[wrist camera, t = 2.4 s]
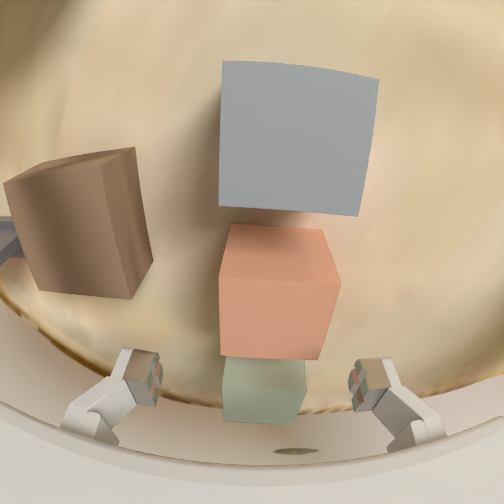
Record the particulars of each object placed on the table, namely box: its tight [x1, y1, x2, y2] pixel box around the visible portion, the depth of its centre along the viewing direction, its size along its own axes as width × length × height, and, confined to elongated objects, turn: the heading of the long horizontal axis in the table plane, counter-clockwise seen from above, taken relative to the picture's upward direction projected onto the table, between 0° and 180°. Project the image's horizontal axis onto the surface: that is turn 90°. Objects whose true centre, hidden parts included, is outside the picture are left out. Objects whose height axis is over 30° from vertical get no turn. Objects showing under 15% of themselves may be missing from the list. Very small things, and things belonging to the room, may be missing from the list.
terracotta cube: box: [219, 223, 341, 360], centre depth 15 cm, size 5×5×5 cm
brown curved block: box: [3, 147, 153, 299], centre depth 14 cm, size 7×7×4 cm
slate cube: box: [219, 61, 379, 217], centre depth 11 cm, size 5×5×5 cm
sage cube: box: [222, 356, 307, 424], centre depth 19 cm, size 5×5×5 cm
